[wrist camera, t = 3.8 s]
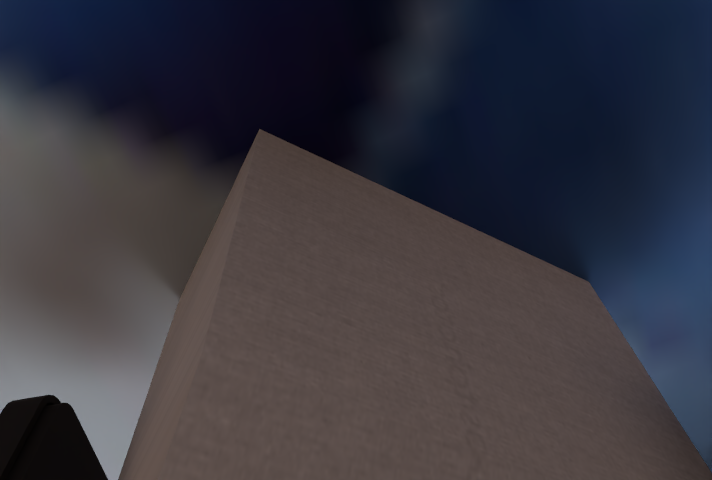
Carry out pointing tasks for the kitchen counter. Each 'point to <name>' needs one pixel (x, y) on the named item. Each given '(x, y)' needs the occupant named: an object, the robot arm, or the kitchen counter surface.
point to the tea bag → (389, 350)
